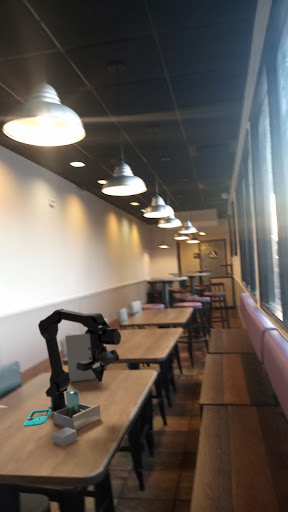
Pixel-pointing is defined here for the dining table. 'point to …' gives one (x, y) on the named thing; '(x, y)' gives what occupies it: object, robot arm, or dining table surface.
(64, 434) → the block
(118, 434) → the dining table surface
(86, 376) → the upright grey panel
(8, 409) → the dining table surface
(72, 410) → the teal cylinder
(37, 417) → the handheld gaming console
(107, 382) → the dining table surface
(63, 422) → the grey open box
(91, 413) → the beige piece
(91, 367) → the robot arm
